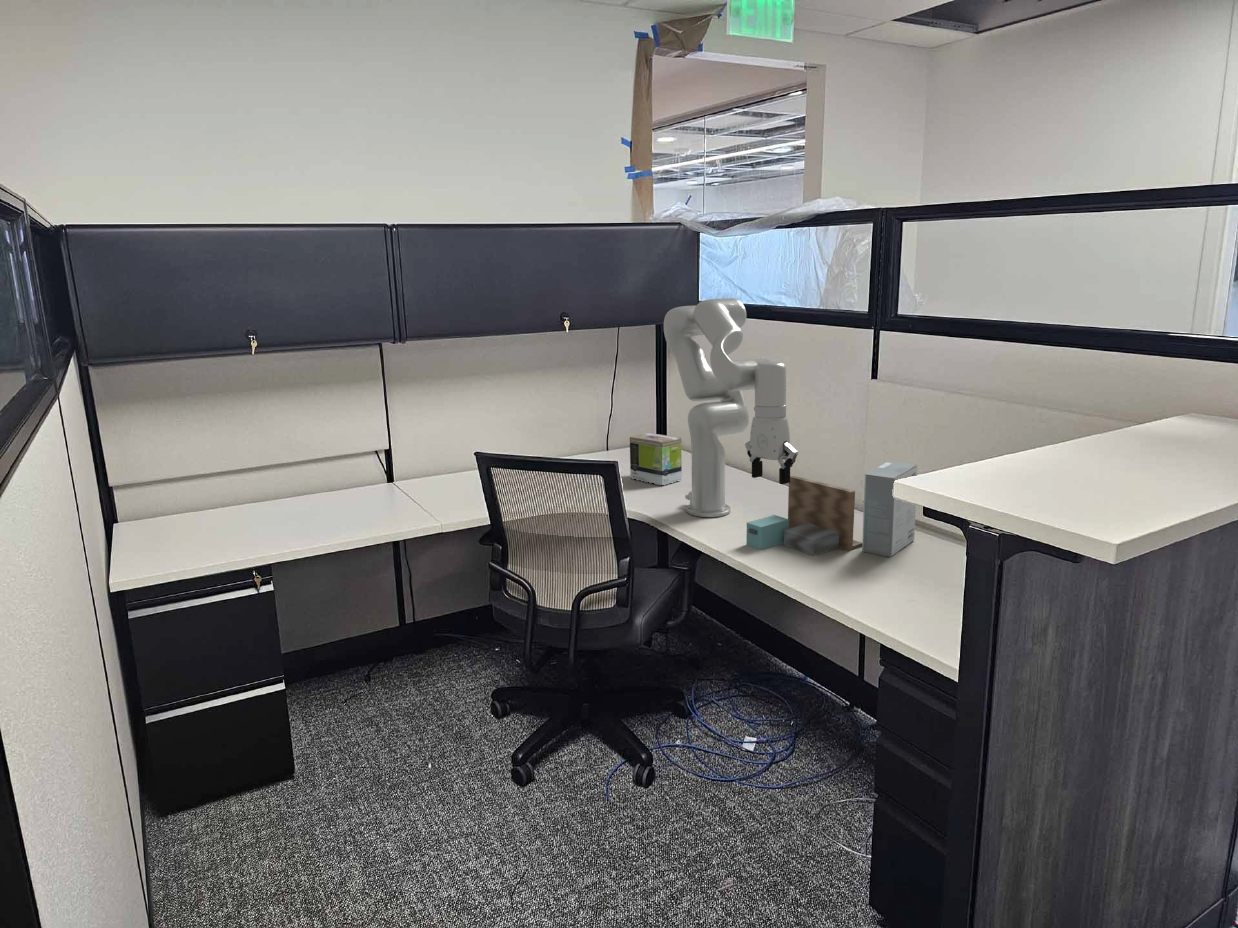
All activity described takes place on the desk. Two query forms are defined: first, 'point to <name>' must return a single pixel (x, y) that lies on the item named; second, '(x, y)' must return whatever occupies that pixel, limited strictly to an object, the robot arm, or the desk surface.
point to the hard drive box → (887, 511)
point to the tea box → (655, 458)
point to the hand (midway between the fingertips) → (770, 480)
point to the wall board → (819, 517)
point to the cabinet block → (766, 531)
